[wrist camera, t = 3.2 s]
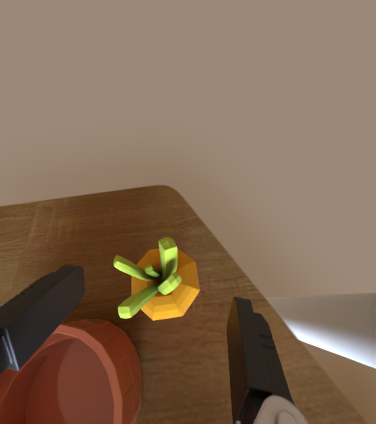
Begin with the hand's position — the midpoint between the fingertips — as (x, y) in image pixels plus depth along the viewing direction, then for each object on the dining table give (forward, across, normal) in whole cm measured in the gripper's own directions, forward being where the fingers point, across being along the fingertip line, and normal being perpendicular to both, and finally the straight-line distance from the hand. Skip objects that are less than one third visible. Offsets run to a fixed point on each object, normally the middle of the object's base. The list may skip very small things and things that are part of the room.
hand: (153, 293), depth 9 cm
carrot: (+10, 0, +9) cm, 13 cm away
